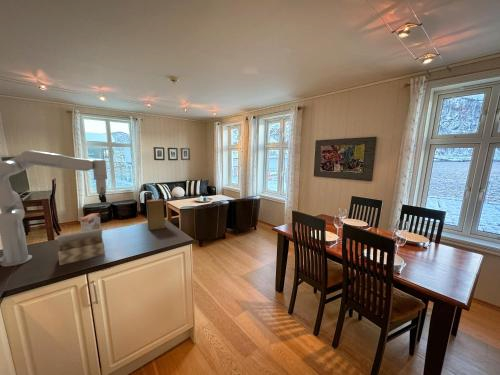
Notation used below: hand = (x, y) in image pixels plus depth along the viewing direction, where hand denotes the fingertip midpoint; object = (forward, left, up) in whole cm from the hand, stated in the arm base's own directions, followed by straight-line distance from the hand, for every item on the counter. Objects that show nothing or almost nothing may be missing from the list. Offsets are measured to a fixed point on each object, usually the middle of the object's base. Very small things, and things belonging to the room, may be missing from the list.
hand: (102, 201), depth 152 cm
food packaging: (+38, +13, -31) cm, 51 cm away
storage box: (-14, -14, -31) cm, 37 cm away
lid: (-14, -13, -19) cm, 27 cm away
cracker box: (-8, +5, -31) cm, 33 cm away
